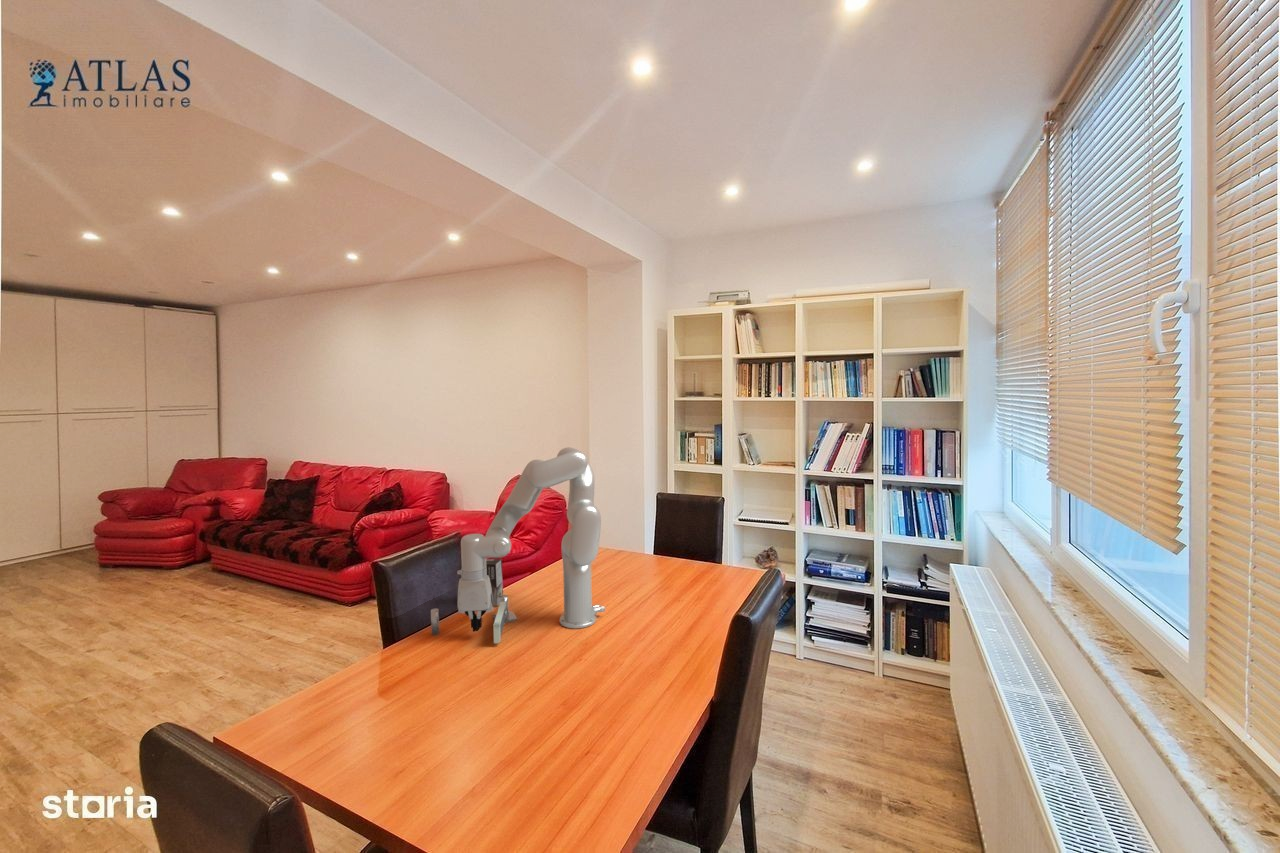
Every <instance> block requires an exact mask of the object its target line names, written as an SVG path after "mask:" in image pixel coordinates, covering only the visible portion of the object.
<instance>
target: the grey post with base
mask: <svg viewBox="0 0 1280 853" xmlns="http://www.w3.org/2000/svg"><path fill="white" fill-rule="evenodd" d="M501 602H506V607H505V613H506V618H505V622H504V624H508V622H509V623H513V622H517V621H518V618H517V615H515V613H514V611H513V610H509V595H508V594H503V595H502V596H500V603H501ZM496 615H497V613H496V614H492V615H491V617H493V618H492V619H493V622H495V618H496Z"/></svg>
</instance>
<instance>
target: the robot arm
mask: <svg viewBox="0 0 1280 853" xmlns="http://www.w3.org/2000/svg"><path fill="white" fill-rule="evenodd" d="M556 455H557V456H556V457H553V458H550V459H546V460H542V459H532V460H531V461H529V462H528V463H527V464H526V466H525V467H524V469H523V470H522V473H521V474H520V476H519V478H518V480H517V481H516V483H515V485H514V486H513V488H512V490H511V492H510V494H509V495H508V497H507V499H506V500H505V502H504V503H503V504H502V506H501V508H500V509H499V511H498V512H497V514H496V515H495V516H494V518H493V520H492V521H491V524H490V526H489V527H488V529H487V531H486V533H485V535H484V534H482V533H468V534H465V535H464V536H462V538H461V540H460V555H461V556H460V557H461V558H460V560H461V569H460V570H457V576H460V578H459V581H458V586H457V610H458V613H460V614H465V615H466V616H467V617H469V620H470V627H471V628H472V632H479V631H480V629H481V628H482V626H483V625H482V624H483V623H482V622H483V620H482V619H483V618H482V617H483V616H484V615H485V614H486V613H490V612H492V611H493V610H494V606H492V601H493V598H492V588H491V583H490V578H489V576H488V575H487V566H486V559H501V558H503V557H505V556H507V555H508V554H509V553H510V551H511V549H512V542H511V539H510V536H511V534H512V532H513V530H514V529H515V527H516V525H517V523H518V522H519V521H520V519H522V518H523V517H524V516H525V515H528V514H529V513H530V512H531V511H532V509H533V508H534V506H535V504H536V503H537V500H538V498H539V497H540V495H541V493H542V492H543V489H547V488H551V487H554V486H557V485H559V484H562V483H564V482H567V481H569V488H568V489H569V491H568V492H569V493H568V502H567V508H566V517H567V521H568V522H569V523H570V524H571V525H572V526H571V529H569V530H568V531H567V532H566V533H565V534H564V535H563V536H562V540H561V546H560V547H561V548H560V549H561V557H562V571H563V572H562V573H563V579H562V580H563V614H562V615H561V616H559V624H560V625H561V626H562V627H564V628H567V629H583V628H587V627H590V626H592V625H594V624H595V623H596V621H597V614H598V613H603V612H605V611H606V608H605V605H599V604H595V605H593V604H592V602H593V600H592V563H593V562H595V560H596V558H597V555H598V553H599V546H600V545H599V544H600V538H601V537H600V536H601V528H602V527H601V526H602V519H601V518H602V517H601V513H600V511H599V509H598V508H597V506H595V504H594V503H595V502H594V501H595V500H594V498H595V474H594V471H593V468H592V466H591V464H590V462H589V460H588V458H587V455H586V454H585V453H584V452H583V451H581V450H578V449H576V448H573V447H564V448H562V449H561V450H559V451H558V453H557V454H556ZM476 612H477V613H476Z"/></svg>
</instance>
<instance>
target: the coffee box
mask: <svg viewBox="0 0 1280 853" xmlns="http://www.w3.org/2000/svg"><path fill="white" fill-rule="evenodd" d="M486 566H487V575H488V576H489V578H490V583H491V588H492V598H493V601H492V606H493V607H499V606H500V596H502V595H504V586H503V585H504V583H503V582H504V581H503V559H502V558H486Z"/></svg>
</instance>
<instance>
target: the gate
mask: <svg viewBox="0 0 1280 853" xmlns="http://www.w3.org/2000/svg"><path fill="white" fill-rule="evenodd" d="M505 607H506V602H501V603H500V604H499V605H498V610H497V613H496V614H497V615H496V618H495V621H493V625H492V626H493V630H492V631H493V644H499V643H501V641H502V640H501V636H502V633H503V629H504V627H505V626H504V625H505V623H504V622H505V618H506V613H505Z"/></svg>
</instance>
